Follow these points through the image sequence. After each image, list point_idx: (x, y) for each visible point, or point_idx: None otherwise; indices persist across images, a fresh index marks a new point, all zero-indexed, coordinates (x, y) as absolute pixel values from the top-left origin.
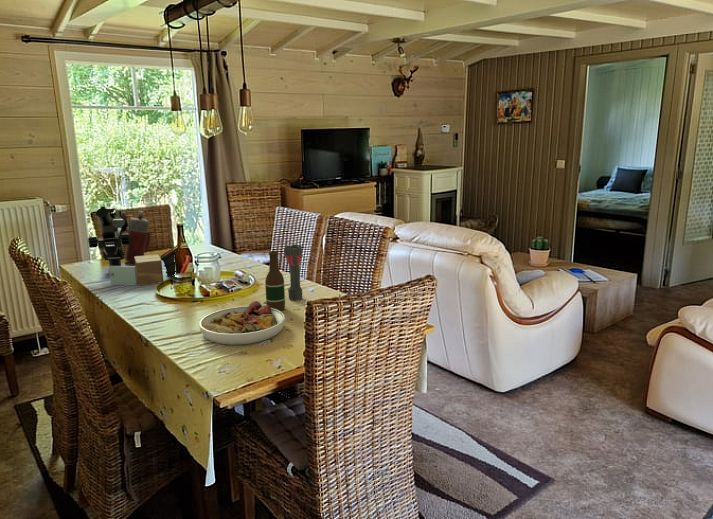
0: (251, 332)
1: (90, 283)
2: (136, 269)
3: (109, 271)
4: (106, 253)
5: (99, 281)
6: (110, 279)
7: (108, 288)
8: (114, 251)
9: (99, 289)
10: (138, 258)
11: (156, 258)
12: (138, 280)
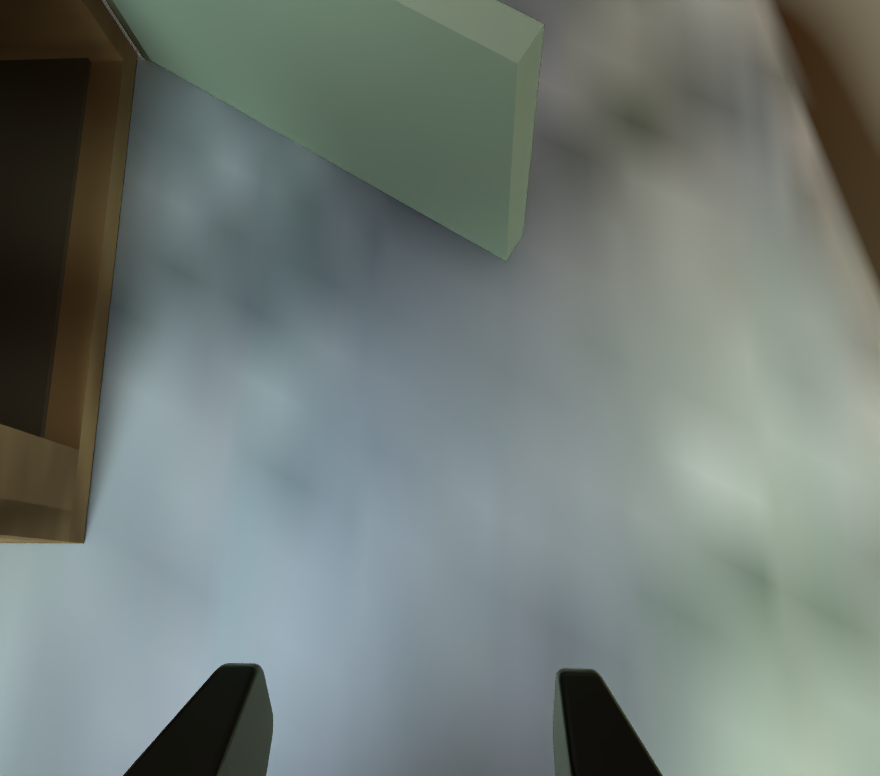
0: None
1: (873, 556)
2: None
3: (534, 106)
4: (623, 713)
5: (719, 633)
6: (524, 195)
7: (562, 88)
8: (221, 754)
9: (692, 90)
10: None
11: None
12: (101, 6)
